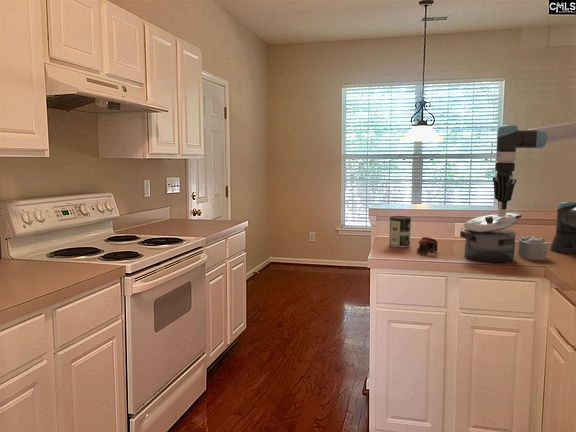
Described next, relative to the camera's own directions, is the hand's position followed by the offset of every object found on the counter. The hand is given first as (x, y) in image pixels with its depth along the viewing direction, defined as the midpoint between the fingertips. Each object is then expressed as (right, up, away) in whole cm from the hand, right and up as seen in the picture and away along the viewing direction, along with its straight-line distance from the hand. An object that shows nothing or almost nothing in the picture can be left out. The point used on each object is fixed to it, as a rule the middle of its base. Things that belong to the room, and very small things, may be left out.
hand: (501, 216), depth 209 cm
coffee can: (-38, -15, +29) cm, 50 cm away
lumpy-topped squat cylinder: (+15, -18, +5) cm, 24 cm away
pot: (-6, -18, +1) cm, 19 cm away
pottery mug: (-28, -17, +12) cm, 35 cm away
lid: (-4, -3, -1) cm, 5 cm away
